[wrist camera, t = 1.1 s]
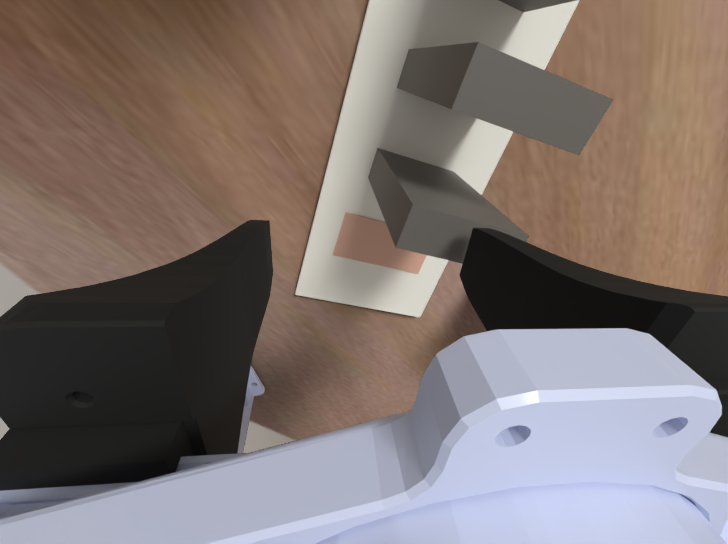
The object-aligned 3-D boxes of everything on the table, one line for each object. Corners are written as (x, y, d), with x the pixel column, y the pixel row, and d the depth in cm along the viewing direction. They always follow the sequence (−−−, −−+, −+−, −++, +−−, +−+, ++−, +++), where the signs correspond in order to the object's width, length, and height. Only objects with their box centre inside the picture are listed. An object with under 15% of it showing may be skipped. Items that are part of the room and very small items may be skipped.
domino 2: (441, 198, 22) (506, 273, 14) (367, 177, 20) (395, 247, 13) (453, 171, 21) (529, 236, 13) (377, 147, 19) (413, 204, 12)
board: (418, 312, 27) (420, 318, 27) (295, 289, 25) (295, 295, 24) (736, -331, 12) (757, -351, 12) (507, -552, 10) (519, -590, 9)
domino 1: (477, 117, 19) (578, 155, 12) (396, 87, 18) (451, 109, 10) (492, 82, 18) (613, 99, 11) (408, 49, 17) (478, 41, 9)
